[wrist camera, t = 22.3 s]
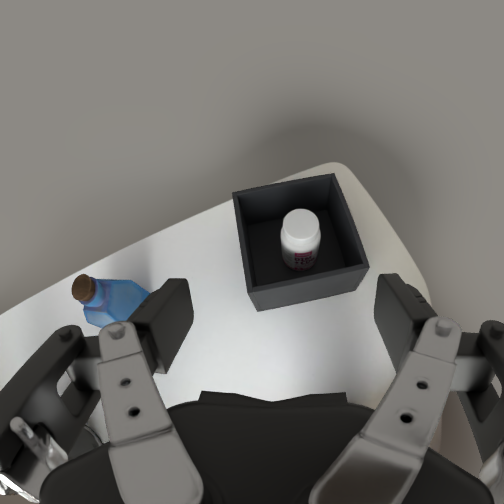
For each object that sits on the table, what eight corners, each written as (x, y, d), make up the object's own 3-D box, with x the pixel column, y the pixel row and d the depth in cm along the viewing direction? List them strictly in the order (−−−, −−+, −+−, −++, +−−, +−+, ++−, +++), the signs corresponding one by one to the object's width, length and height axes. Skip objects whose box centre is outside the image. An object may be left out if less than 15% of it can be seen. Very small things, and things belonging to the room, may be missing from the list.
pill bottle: (296, 279, 37) (296, 251, 29) (275, 252, 39) (270, 220, 31) (324, 258, 37) (331, 227, 30) (303, 233, 39) (303, 198, 32)
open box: (257, 311, 36) (247, 293, 29) (242, 225, 42) (232, 192, 35) (355, 290, 35) (370, 267, 28) (329, 208, 41) (334, 172, 34)
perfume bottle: (152, 294, 39) (106, 261, 28) (146, 336, 37) (95, 315, 26) (118, 293, 40) (69, 262, 29) (112, 331, 37) (58, 310, 27)
